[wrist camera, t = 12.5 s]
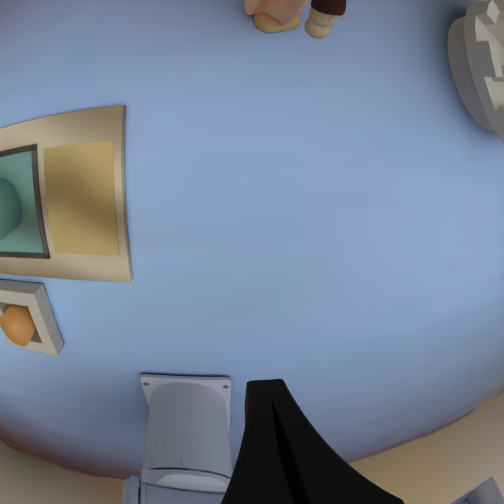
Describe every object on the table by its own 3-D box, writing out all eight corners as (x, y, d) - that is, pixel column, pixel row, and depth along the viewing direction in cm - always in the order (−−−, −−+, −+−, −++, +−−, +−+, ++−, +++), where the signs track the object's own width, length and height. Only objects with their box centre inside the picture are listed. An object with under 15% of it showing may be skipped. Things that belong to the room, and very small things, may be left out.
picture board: (132, 277, 18) (129, 284, 17) (-8, 269, 16) (-13, 273, 15) (126, 106, 13) (121, 105, 13) (-27, 138, 11) (-33, 140, 11)
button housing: (64, 343, 20) (58, 356, 18) (16, 334, 19) (9, 344, 17) (43, 283, 17) (34, 294, 16) (-6, 278, 16) (-15, 287, 15)
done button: (44, 330, 19) (33, 349, 16) (19, 326, 18) (8, 342, 16) (33, 300, 17) (20, 317, 15) (8, 296, 17) (-6, 312, 15)
